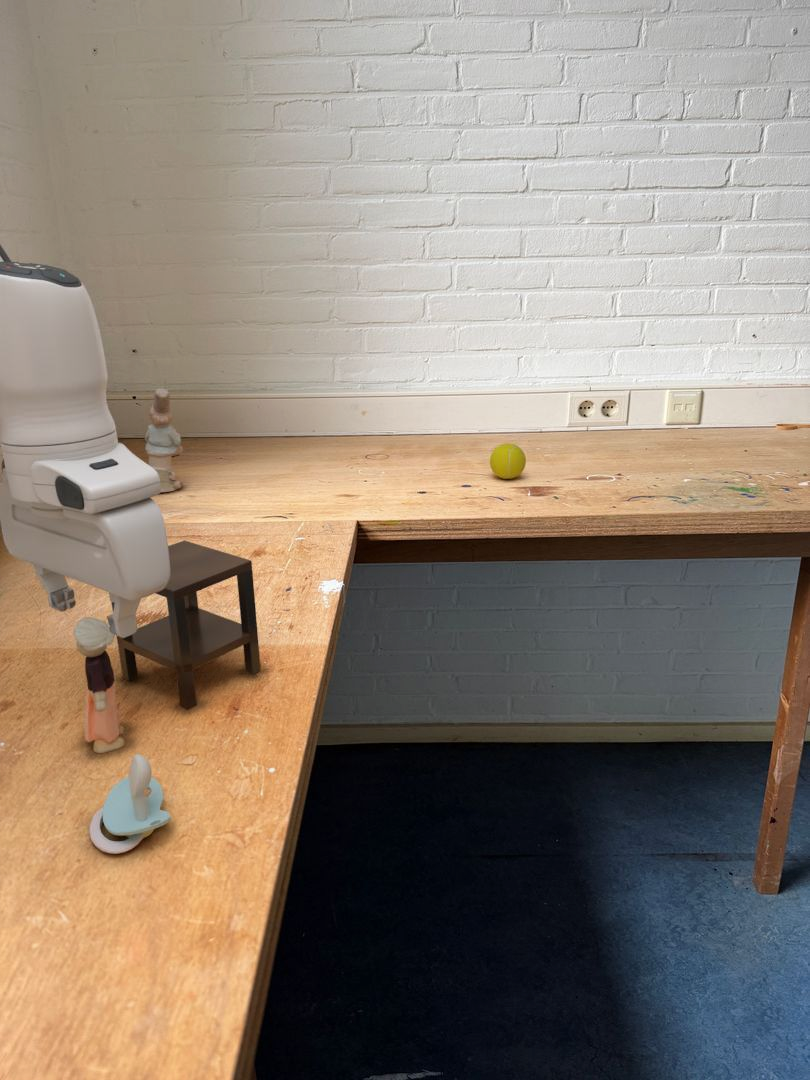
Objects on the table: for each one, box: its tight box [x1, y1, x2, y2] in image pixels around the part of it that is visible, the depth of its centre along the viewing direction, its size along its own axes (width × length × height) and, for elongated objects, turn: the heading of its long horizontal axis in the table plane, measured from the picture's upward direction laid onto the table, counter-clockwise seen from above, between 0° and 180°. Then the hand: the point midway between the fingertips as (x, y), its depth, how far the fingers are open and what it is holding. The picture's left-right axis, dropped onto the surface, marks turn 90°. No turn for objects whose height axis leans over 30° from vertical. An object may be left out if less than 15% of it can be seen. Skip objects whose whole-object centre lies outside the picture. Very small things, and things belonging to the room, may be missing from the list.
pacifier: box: [88, 753, 171, 855], centre depth 63 cm, size 7×6×6 cm
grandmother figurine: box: [73, 616, 125, 754], centre depth 73 cm, size 8×4×13 cm, turn 27°
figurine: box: [144, 387, 184, 493], centre depth 155 cm, size 9×8×20 cm
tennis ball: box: [489, 443, 527, 480], centre depth 161 cm, size 7×7×7 cm
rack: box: [110, 539, 262, 711], centre depth 85 cm, size 11×10×13 cm
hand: (92, 620), depth 71 cm, fingers open, 8 cm apart
